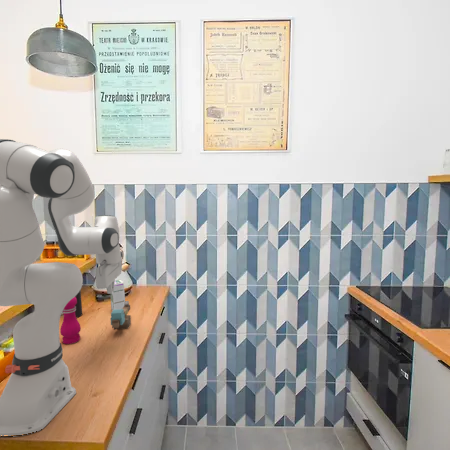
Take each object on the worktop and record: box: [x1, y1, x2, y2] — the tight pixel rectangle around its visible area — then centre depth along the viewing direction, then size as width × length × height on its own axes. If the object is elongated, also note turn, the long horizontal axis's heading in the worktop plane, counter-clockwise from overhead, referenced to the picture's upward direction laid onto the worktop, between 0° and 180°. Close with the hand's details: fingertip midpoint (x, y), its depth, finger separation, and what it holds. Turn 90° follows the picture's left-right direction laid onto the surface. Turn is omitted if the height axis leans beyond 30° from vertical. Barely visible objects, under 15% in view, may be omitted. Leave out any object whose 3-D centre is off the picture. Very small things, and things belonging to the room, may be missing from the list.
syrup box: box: [109, 279, 126, 312], centre depth 154 cm, size 6×6×14 cm
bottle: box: [75, 288, 83, 319], centre depth 148 cm, size 7×7×20 cm
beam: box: [111, 300, 132, 330], centre depth 136 cm, size 20×6×8 cm, turn 3°
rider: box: [110, 309, 125, 326], centre depth 130 cm, size 4×5×5 cm
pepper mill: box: [59, 297, 82, 345], centre depth 124 cm, size 7×7×20 cm
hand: (110, 292), depth 122 cm, fingers closed
